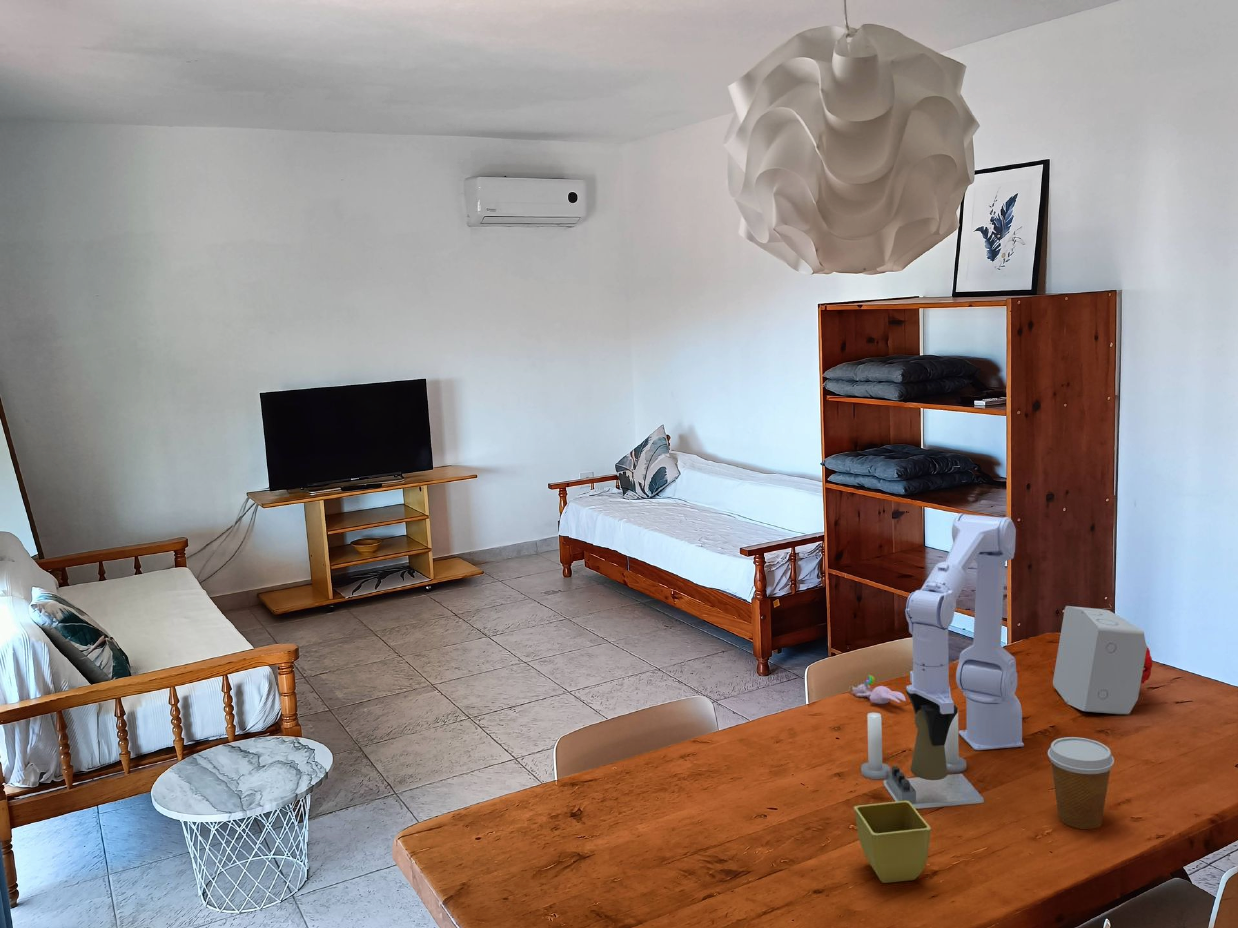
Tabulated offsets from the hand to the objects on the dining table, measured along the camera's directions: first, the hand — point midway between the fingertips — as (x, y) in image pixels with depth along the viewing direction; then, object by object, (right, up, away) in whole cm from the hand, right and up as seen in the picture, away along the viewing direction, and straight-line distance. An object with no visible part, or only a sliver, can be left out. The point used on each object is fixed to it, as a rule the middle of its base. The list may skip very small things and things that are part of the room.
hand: (931, 737), depth 165 cm
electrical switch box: (+47, -3, +35) cm, 58 cm away
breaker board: (+1, -10, +1) cm, 10 cm away
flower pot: (-12, -14, -21) cm, 28 cm away
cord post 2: (+7, -8, +11) cm, 15 cm away
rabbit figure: (+2, -4, +41) cm, 41 cm away
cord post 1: (-7, -9, +10) cm, 15 cm away
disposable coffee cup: (+21, -11, -9) cm, 25 cm away
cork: (0, -6, +1) cm, 6 cm away
